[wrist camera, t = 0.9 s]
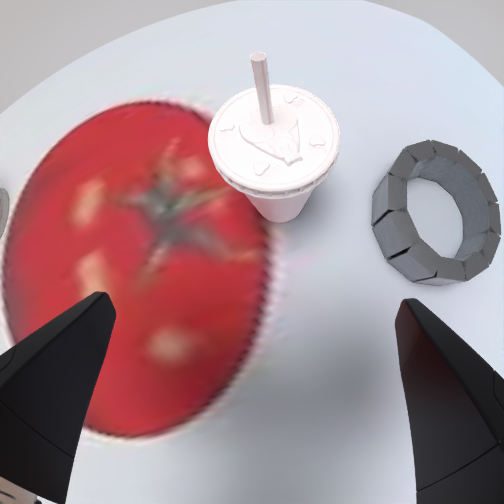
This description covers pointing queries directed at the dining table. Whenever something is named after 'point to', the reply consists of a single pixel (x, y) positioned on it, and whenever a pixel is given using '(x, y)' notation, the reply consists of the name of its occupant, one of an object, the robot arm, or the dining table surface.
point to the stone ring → (468, 201)
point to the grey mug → (3, 209)
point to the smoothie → (274, 144)
